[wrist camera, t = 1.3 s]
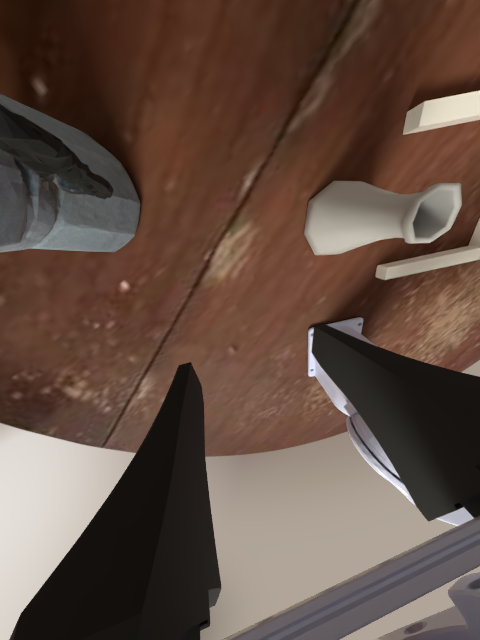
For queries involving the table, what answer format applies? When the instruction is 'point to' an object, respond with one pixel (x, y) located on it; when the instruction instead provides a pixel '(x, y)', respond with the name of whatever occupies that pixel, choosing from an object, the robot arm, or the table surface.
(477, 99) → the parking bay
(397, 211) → the flask
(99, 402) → the table surface
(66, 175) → the moka pot
